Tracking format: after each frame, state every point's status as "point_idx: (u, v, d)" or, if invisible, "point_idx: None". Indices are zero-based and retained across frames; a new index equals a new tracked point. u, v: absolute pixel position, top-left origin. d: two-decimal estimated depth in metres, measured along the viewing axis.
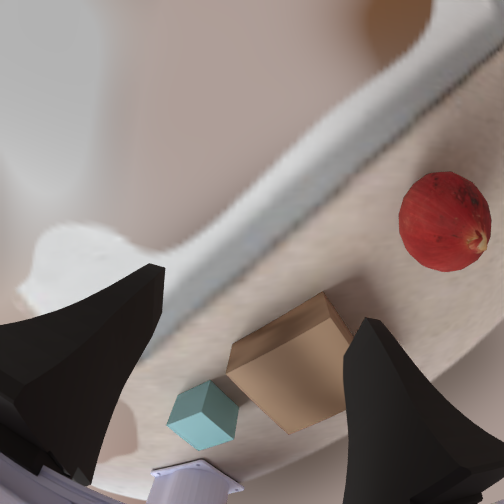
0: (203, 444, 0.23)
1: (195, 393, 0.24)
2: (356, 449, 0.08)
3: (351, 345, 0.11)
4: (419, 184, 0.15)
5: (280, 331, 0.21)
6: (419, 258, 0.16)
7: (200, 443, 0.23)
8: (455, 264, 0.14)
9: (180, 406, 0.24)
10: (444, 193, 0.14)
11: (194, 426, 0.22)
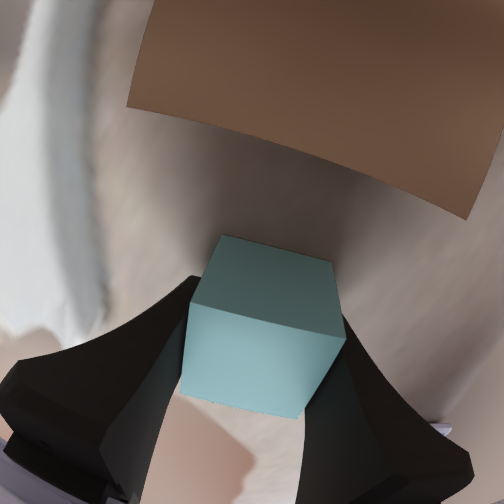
0: (291, 398, 0.09)
1: None
2: (309, 445, 0.08)
3: None
4: None
5: None
6: None
7: (282, 399, 0.09)
8: None
9: None
10: None
11: (221, 360, 0.08)
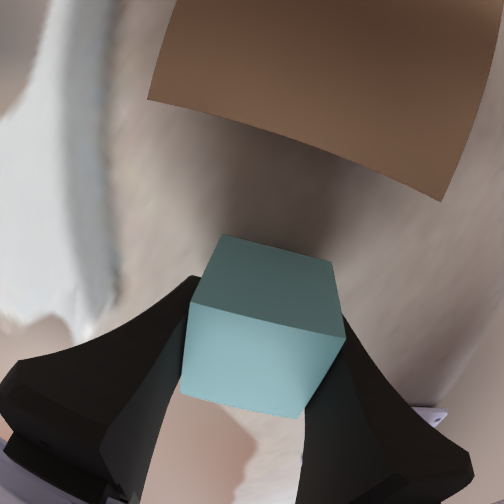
0: (290, 398, 0.09)
1: None
2: (309, 445, 0.08)
3: None
4: None
5: None
6: None
7: (282, 399, 0.09)
8: None
9: None
10: None
11: (221, 359, 0.08)
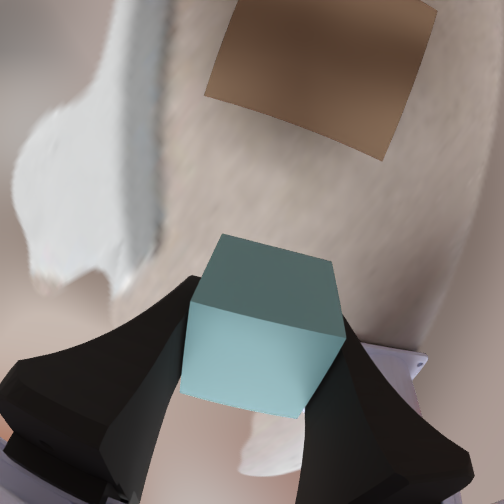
0: (291, 397, 0.09)
1: None
2: (309, 445, 0.08)
3: None
4: None
5: None
6: None
7: (282, 399, 0.09)
8: None
9: None
10: None
11: (221, 359, 0.08)
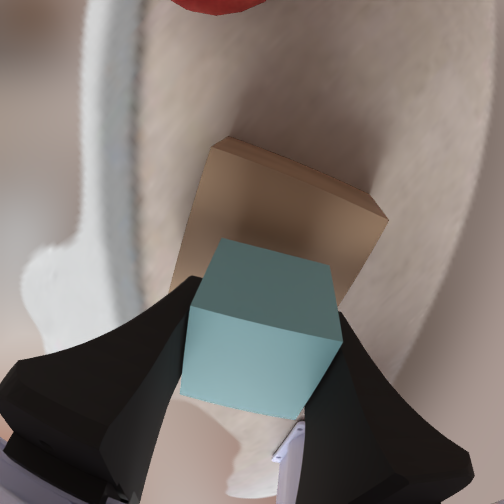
0: (289, 399, 0.09)
1: None
2: (309, 445, 0.08)
3: None
4: None
5: None
6: (208, 2, 0.08)
7: (281, 400, 0.09)
8: None
9: None
10: None
11: (220, 361, 0.09)
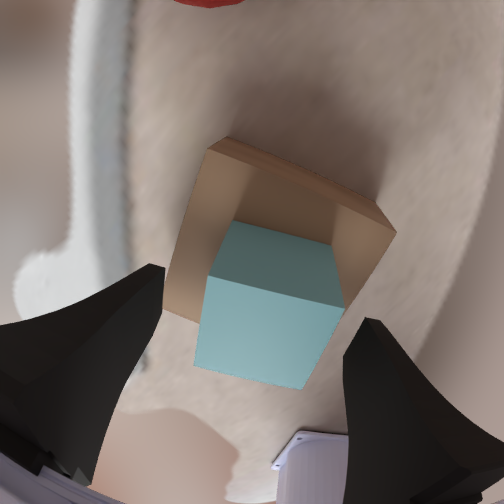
0: (296, 368, 0.10)
1: None
2: (356, 449, 0.08)
3: (351, 345, 0.11)
4: None
5: None
6: None
7: (288, 369, 0.10)
8: None
9: None
10: None
11: (234, 330, 0.09)
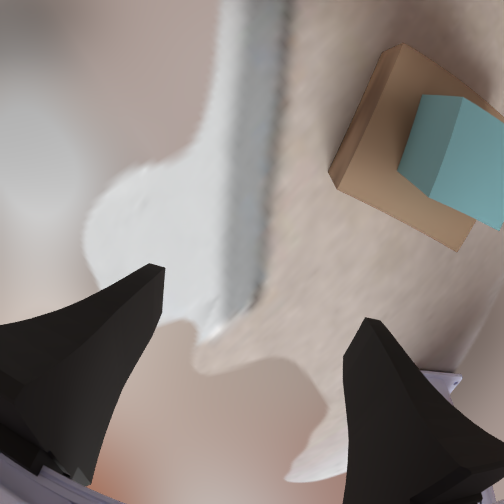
0: (501, 202, 0.09)
1: (422, 123, 0.11)
2: (356, 449, 0.08)
3: (351, 345, 0.11)
4: None
5: (367, 105, 0.14)
6: None
7: (497, 203, 0.09)
8: None
9: (420, 159, 0.11)
10: None
11: (471, 153, 0.09)
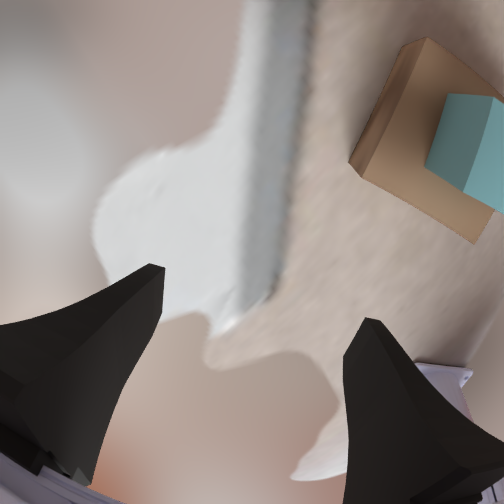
0: None
1: (450, 121, 0.11)
2: (356, 449, 0.08)
3: (351, 345, 0.11)
4: None
5: (390, 96, 0.13)
6: None
7: None
8: None
9: (450, 155, 0.11)
10: None
11: (501, 150, 0.08)
